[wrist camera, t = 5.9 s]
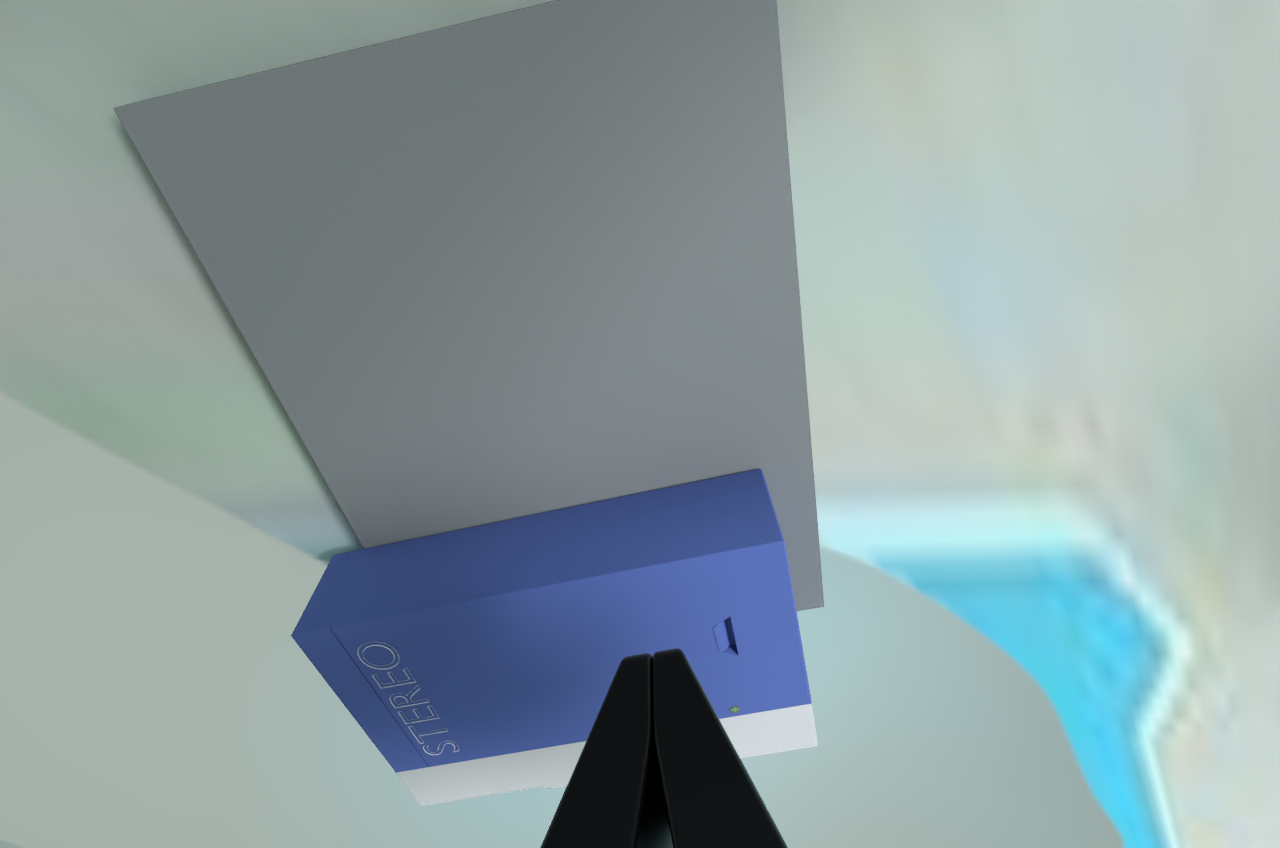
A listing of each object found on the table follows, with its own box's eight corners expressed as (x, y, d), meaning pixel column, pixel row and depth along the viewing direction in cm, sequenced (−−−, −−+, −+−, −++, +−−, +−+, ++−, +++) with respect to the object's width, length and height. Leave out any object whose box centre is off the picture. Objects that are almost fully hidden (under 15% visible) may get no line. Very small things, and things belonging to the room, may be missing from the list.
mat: (765, -50, 12) (771, -52, 11) (818, 591, 20) (824, 606, 19) (133, 104, 13) (112, 107, 12) (437, 653, 21) (432, 669, 20)
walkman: (763, 465, 17) (320, 556, 18) (787, 541, 14) (275, 639, 15) (796, 664, 21) (434, 726, 22) (819, 748, 18) (412, 813, 20)
